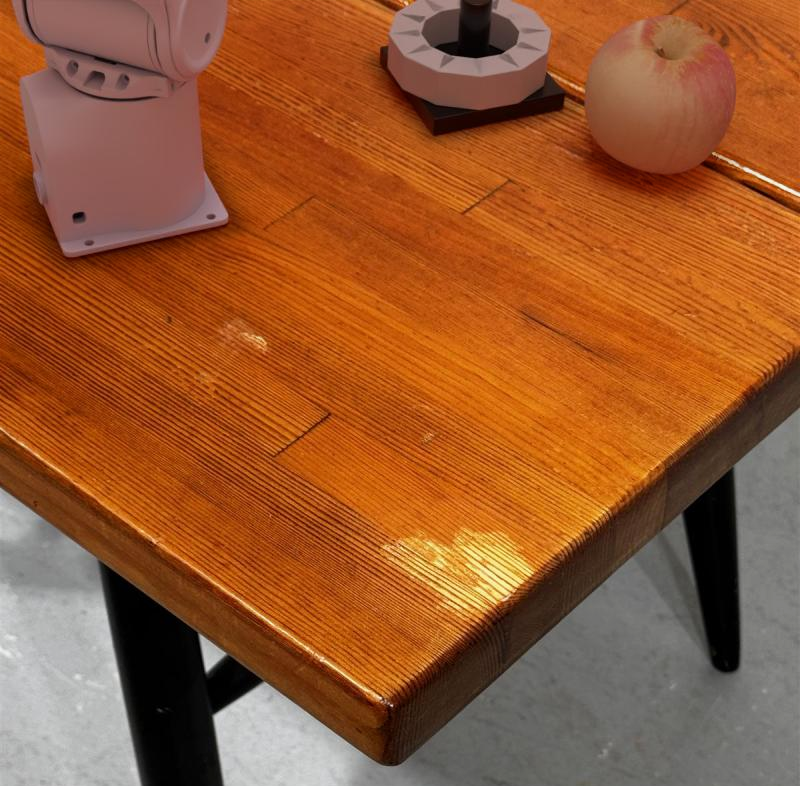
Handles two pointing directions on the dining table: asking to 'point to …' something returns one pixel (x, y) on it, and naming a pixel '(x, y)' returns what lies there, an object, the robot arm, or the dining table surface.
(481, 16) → the black peg stand
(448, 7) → the tape roll
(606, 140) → the apple
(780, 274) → the dining table surface
